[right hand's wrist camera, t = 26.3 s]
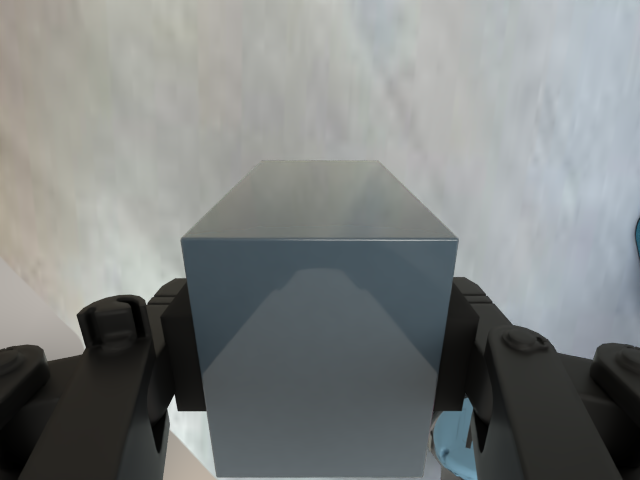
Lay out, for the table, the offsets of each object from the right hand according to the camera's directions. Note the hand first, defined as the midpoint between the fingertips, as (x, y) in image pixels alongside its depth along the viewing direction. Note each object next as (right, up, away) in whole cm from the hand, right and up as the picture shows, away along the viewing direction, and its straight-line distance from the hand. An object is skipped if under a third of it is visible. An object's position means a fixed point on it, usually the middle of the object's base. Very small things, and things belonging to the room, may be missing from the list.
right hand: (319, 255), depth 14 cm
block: (0, +1, +3) cm, 4 cm away
